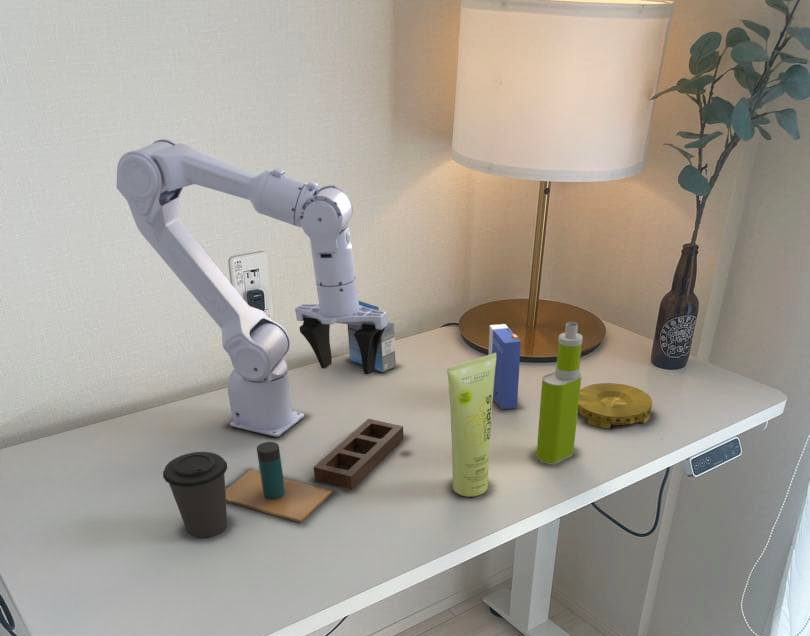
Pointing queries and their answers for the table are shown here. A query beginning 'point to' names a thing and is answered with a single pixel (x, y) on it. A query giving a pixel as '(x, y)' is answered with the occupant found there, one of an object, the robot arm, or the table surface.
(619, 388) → the yellow flat disc
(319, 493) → the cork mat
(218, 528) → the coffee cup
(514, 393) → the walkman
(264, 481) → the teal capped bottle
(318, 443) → the table surface
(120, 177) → the robot arm
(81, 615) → the table surface
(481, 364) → the tube
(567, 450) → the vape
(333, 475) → the pen stand
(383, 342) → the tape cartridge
